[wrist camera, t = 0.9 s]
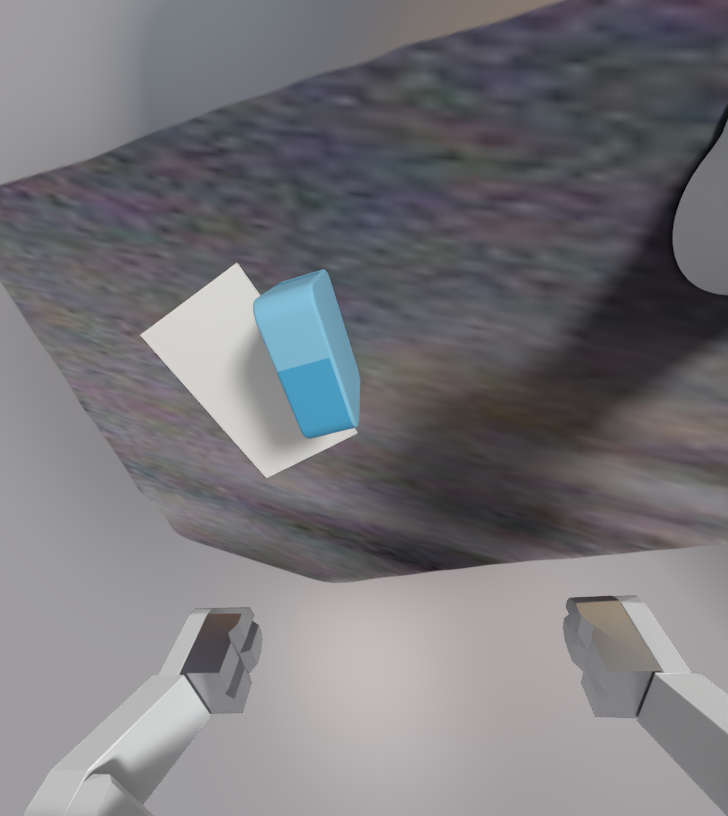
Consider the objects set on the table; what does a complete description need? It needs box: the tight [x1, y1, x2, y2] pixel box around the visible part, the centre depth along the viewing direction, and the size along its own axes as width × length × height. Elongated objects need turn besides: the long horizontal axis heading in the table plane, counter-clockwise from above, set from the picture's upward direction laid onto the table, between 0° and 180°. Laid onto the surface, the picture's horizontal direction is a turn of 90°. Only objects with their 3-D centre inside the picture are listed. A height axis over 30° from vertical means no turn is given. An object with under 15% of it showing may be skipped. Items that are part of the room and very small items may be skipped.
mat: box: [140, 263, 357, 478], centre depth 41 cm, size 14×22×1 cm, turn 32°
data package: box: [253, 269, 360, 439], centre depth 33 cm, size 12×4×12 cm, turn 16°
